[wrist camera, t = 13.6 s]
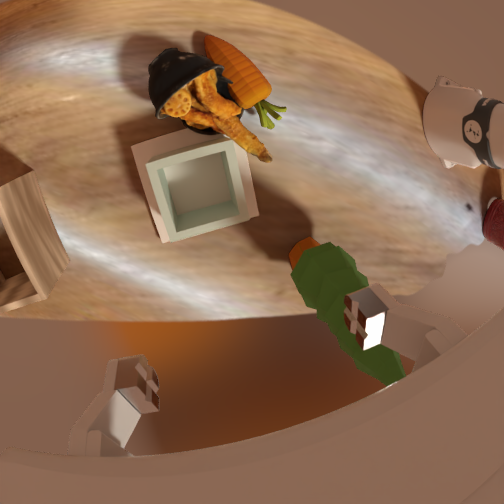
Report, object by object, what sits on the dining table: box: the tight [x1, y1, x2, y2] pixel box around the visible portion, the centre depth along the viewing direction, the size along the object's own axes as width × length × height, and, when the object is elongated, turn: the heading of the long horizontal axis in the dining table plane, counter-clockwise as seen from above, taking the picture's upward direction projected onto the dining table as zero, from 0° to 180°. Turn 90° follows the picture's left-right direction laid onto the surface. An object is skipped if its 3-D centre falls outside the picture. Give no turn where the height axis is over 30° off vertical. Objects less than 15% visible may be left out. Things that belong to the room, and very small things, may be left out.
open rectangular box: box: [131, 128, 259, 243], centre depth 32 cm, size 14×14×7 cm
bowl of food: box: [148, 48, 272, 162], centre depth 27 cm, size 9×11×18 cm
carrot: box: [204, 35, 287, 129], centre depth 28 cm, size 5×5×15 cm
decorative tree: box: [289, 237, 406, 387], centre depth 32 cm, size 10×9×30 cm
